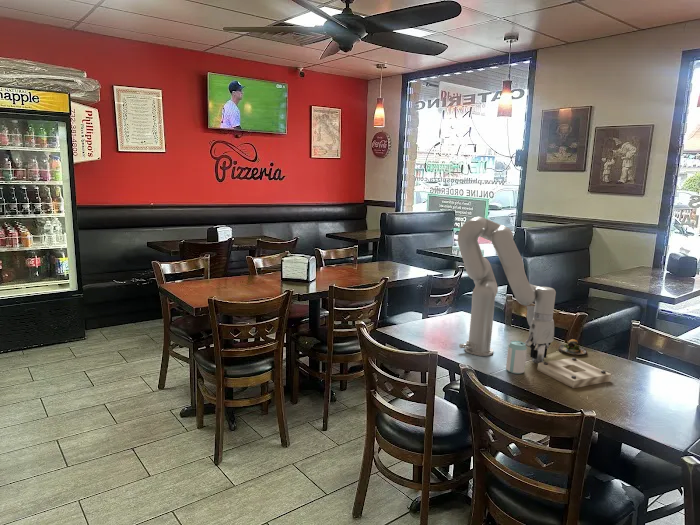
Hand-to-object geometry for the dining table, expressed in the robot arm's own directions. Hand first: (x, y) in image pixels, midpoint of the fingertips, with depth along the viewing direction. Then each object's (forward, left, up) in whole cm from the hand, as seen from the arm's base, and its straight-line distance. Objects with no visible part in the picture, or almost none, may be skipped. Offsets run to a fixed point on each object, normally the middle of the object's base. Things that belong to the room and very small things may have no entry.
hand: (538, 356), depth 207 cm
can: (-17, -5, -2) cm, 18 cm away
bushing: (0, 0, -2) cm, 2 cm away
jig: (+3, -16, -2) cm, 16 cm away
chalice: (+13, +18, -2) cm, 22 cm away
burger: (+25, +4, -3) cm, 25 cm away
